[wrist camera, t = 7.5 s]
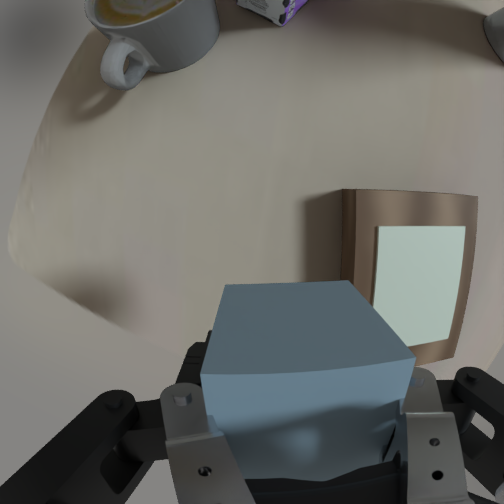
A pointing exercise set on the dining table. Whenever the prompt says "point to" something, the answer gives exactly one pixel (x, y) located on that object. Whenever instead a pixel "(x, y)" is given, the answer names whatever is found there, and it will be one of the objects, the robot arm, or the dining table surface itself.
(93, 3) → the coffee mug
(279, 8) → the candy box
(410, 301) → the walnut base
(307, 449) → the slate block
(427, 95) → the dining table surface
